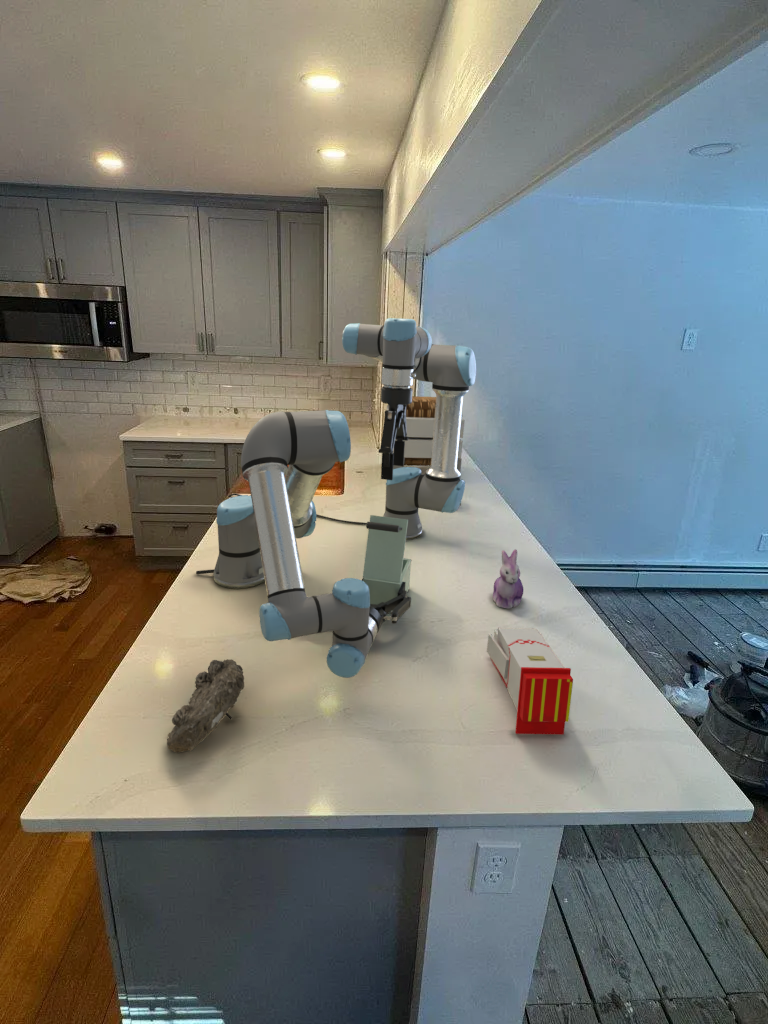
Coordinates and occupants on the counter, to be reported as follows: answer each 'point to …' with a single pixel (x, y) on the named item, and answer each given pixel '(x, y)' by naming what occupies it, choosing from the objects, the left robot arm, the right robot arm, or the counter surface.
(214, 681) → the fossil
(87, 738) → the counter surface
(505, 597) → the figurine
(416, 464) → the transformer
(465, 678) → the counter surface
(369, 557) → the lid
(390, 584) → the chest
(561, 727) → the toy
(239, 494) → the right robot arm
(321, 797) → the counter surface
